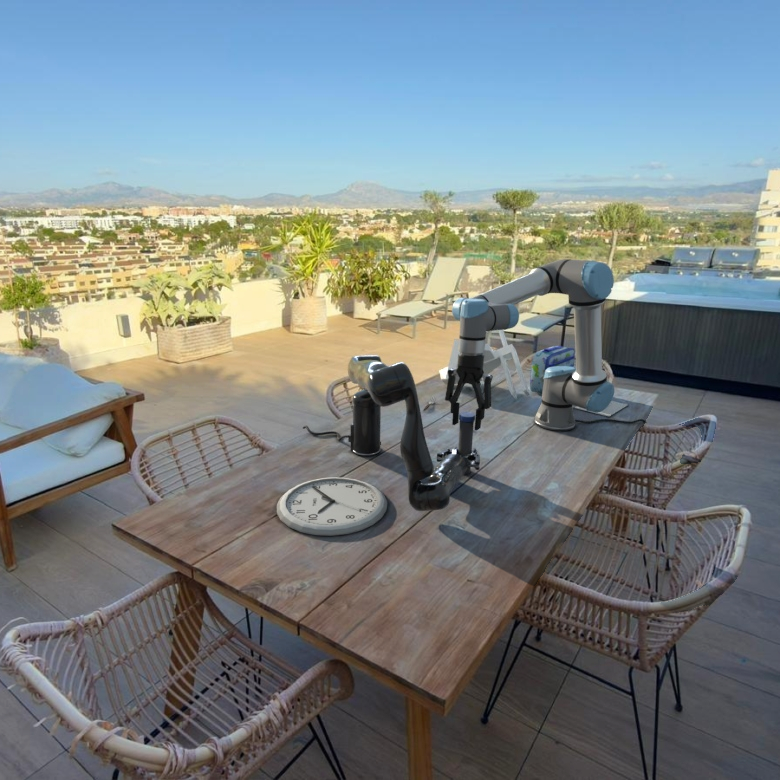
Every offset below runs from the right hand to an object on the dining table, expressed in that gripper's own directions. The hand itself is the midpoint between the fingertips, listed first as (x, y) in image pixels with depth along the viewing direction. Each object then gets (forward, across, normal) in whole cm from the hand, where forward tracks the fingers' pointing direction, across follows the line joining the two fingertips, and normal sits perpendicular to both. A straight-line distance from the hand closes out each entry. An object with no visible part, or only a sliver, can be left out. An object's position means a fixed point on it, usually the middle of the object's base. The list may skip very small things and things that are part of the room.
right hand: (466, 426), depth 159 cm
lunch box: (+15, +4, -102) cm, 103 cm away
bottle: (+15, 0, 0) cm, 15 cm away
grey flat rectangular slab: (+15, -22, -92) cm, 96 cm away
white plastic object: (+15, +30, -79) cm, 86 cm away
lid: (-3, 0, 0) cm, 3 cm away
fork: (+15, +40, -48) cm, 64 cm away
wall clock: (+15, +20, +40) cm, 47 cm away
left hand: (+9, 0, -3) cm, 9 cm away
